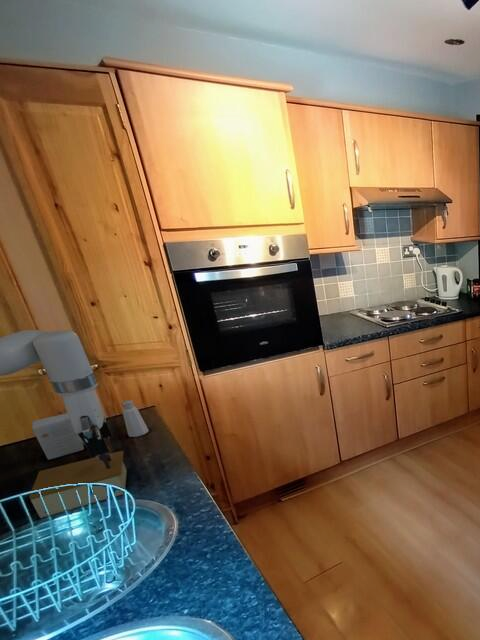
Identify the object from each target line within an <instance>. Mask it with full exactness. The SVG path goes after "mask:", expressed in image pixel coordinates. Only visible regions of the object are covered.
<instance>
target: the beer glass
mask: <svg viewBox="0 0 480 640" xmlns="http://www.w3.org/2000/svg"><path fill="white" fill-rule="evenodd" d="M104 419H105V422H106V423H107V424H108V422H107V420H106V419H107V418H106V417H105V415H104ZM72 427H73V426H72ZM92 433H93V432H92ZM76 434H77V433H76ZM77 435H78V437H79V438H80V439H81V440H82V442H83V445H84V446H85V448H86V450H87V455H88V459H91V458H95V457H99V455H97V456H91V453H90V451H89V449H88V447H87V445H86V442H85V439H84V434H83V432H81V433H80V434H77ZM104 441H105V443H106V445H107V446H108V447H109V448H110V452H109V454H111V453H115V452H118V451H117V449H116V447H115V446H114V445H113V443H112V442H111V438H110V437H106V438H104Z"/></svg>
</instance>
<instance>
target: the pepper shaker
mask: <svg viewBox="0 0 480 640" xmlns="http://www.w3.org/2000/svg"><path fill="white" fill-rule="evenodd" d="M120 404H121V406H122V410H121V411H122V415H123V419H124V424H125V427H126V432H127V435H128V437H129V438H137V437H141V436H143V435H146V434H147V433H148V432H150V431H149V428H148V426H147V424H146V422H145V420H144V418H143V417H142V415H141V413H140V410H139V408H138V407H137V406H135V404H134V400H132V399H128V400H124V401H122V402H120Z"/></svg>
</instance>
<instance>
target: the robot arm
mask: <svg viewBox="0 0 480 640" xmlns="http://www.w3.org/2000/svg"><path fill="white" fill-rule="evenodd" d="M39 363H41V364H42V366H43V368H44V371H45V373H46V375H47V377H48V379H49V381H50V384H51V387H52V388H53V389H54V390H53V391H54V393H55V394H56V396H61V398H62V402H63V405H64V408H65V410H66V413H68V416H69V419H70V421H71V424H72V426H73V429H74V431H75V433H77V434H80V433H81V432H83V434H84V439H85V442H86V445H87V447H88V449H89V451H90V453H91V456H97V455H101V454H105V453H108V452H109V450H108V448H107V445H106V443H105V441H104V438H106V437H109V438H110V437H112V432H111V430H110V427H109V425H108V422H107V421H106V422H107V423H106V422H105V419H106V418H105V419H104V416H105V412H104V409H103V406H102V403H101V401H100V398H99V397H98V393H97V392H96V390H95V388H97V387H98V386H99V383H98V381H97V378H96V376H95V373H94V370H93V368H92V366H91V364H90V361H89V359H88V357H87V354H86V352H85V349H84V346H83V345H82V342H81V340H80V337H79V335H78V334H77V333H76V332H74V331H72V330H68V329H67V330H66V329H65V330H62V329H61V330H53V331H46V330H37V329H24V330H20V331H17V332H13V333H10V334H8V335H7V334H6V335H5V336H1V337H0V376H8V375H13V374H15V373H17V372H21V371H22V370H24V369H27V368H29V367H31V366H35V365H37V364H39ZM92 432H93V433H92Z"/></svg>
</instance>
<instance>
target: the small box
mask: <svg viewBox="0 0 480 640" xmlns="http://www.w3.org/2000/svg"><path fill="white" fill-rule="evenodd" d="M31 429H32V432H33V433H34V435H35V437H36V440H37V441H38V443H39V445H40V448H41V449H42V451H43V453H44V455H45V458H46V459H47V460H48V461H49V460H53V459H57V458H60V457H63V456H67V455H70V454H74V453H78V452H81V451H84V450H85V447H84V446H85V445H84V443H83V442H82V440H81V439H80V438H79V437H78V435H77V434H76V433H75V431H74V429H73V427H72V424H71V421H70V419H69V416H68V413H67V412H65V413H62V414H58V415H52V416H50V417H45V418H41V419H37V420H32V422H31Z"/></svg>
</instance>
